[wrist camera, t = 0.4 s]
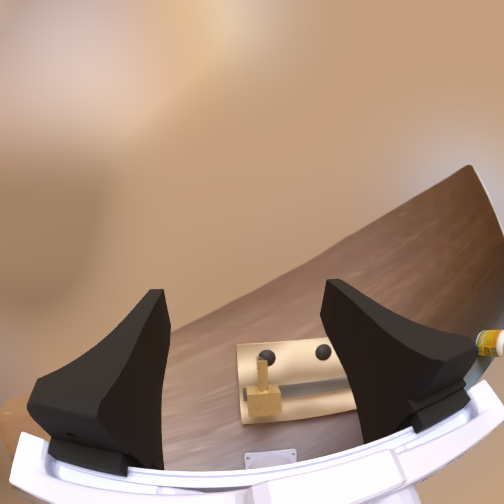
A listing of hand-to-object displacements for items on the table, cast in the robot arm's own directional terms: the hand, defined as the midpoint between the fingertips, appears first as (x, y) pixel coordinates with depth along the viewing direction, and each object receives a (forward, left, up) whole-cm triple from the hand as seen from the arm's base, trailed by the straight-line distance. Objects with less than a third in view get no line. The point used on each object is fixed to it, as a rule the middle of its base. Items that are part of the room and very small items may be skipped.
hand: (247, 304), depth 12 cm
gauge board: (-11, -11, -27) cm, 31 cm away
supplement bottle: (-13, -48, -27) cm, 56 cm away
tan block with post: (-10, -2, -25) cm, 27 cm away
